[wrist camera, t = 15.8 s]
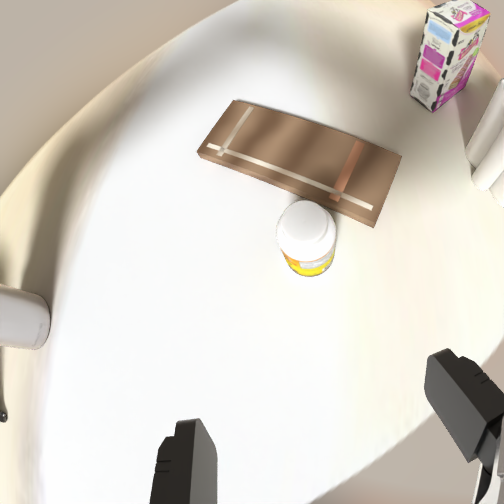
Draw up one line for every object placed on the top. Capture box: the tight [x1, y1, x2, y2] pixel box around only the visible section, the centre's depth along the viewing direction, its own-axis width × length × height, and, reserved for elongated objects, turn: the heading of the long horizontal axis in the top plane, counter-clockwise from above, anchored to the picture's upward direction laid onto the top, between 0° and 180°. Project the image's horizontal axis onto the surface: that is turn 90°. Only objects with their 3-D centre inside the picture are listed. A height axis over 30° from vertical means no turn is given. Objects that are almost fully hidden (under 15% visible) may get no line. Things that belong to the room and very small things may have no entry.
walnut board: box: [197, 100, 402, 228], centre depth 40 cm, size 25×10×2 cm, turn 61°
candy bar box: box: [410, 0, 491, 113], centre depth 31 cm, size 11×5×16 cm, turn 127°
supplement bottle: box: [276, 200, 336, 277], centre depth 32 cm, size 6×6×10 cm
